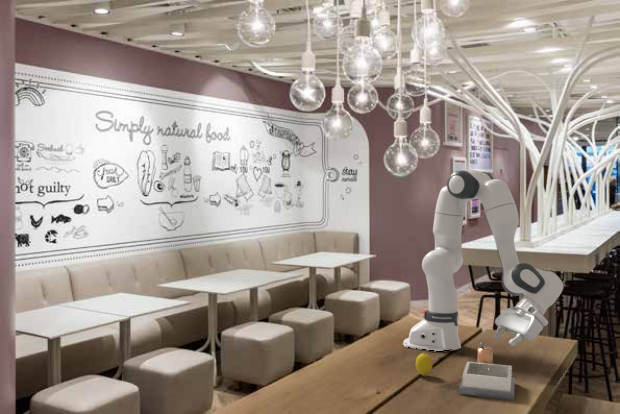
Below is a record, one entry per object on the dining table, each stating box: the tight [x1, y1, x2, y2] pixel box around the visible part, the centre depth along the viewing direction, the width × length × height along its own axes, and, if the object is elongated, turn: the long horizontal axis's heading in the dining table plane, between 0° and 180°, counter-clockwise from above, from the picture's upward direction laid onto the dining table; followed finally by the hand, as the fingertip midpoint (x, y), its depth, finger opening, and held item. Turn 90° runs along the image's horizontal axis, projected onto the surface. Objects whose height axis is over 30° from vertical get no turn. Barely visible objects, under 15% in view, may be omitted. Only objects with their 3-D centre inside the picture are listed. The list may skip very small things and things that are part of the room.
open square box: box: [458, 361, 516, 401], centre depth 193 cm, size 16×16×6 cm
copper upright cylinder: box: [476, 342, 494, 364], centre depth 211 cm, size 5×5×10 cm
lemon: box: [415, 352, 433, 377], centre depth 206 cm, size 6×6×8 cm
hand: (502, 341), depth 212 cm, fingers open, 8 cm apart
